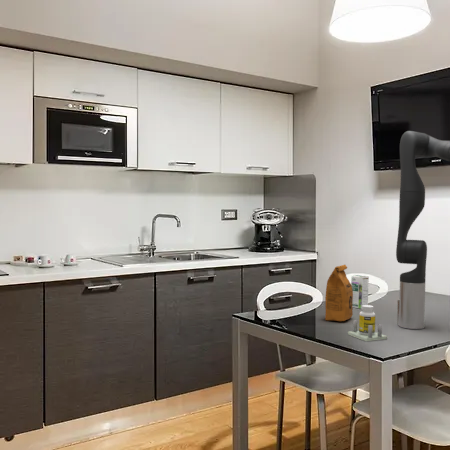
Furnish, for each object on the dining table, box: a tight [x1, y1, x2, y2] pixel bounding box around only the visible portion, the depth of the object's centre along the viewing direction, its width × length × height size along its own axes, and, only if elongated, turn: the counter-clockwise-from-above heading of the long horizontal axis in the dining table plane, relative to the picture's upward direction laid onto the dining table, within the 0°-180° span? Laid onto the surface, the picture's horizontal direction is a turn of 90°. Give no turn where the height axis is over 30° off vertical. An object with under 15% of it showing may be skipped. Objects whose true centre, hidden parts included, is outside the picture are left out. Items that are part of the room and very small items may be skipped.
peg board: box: [347, 319, 388, 342], centre depth 178 cm, size 10×9×5 cm
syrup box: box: [350, 274, 369, 310], centre depth 233 cm, size 6×6×14 cm
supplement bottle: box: [358, 304, 376, 335], centre depth 179 cm, size 5×5×10 cm
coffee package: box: [324, 264, 354, 322], centre depth 206 cm, size 10×12×22 cm
